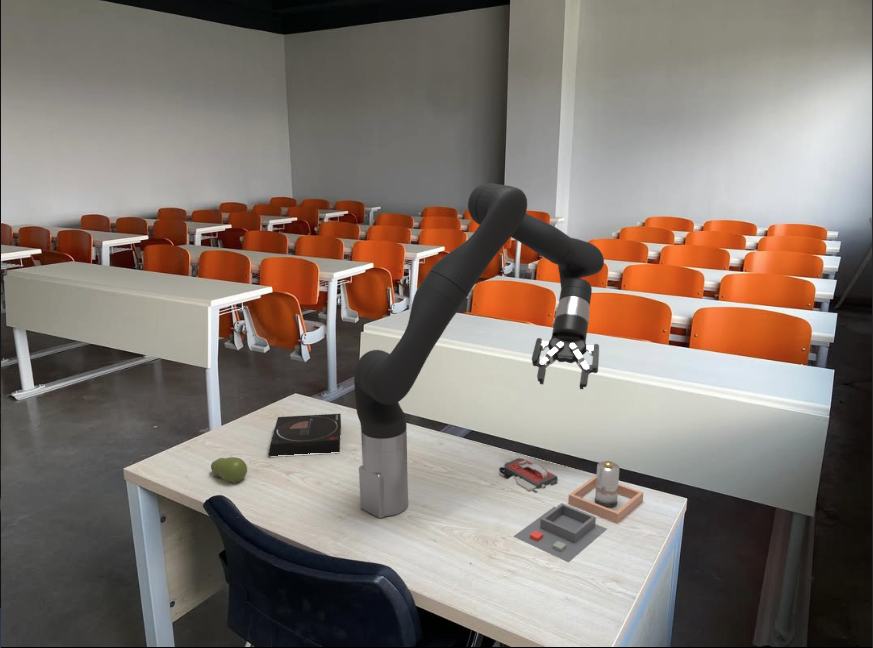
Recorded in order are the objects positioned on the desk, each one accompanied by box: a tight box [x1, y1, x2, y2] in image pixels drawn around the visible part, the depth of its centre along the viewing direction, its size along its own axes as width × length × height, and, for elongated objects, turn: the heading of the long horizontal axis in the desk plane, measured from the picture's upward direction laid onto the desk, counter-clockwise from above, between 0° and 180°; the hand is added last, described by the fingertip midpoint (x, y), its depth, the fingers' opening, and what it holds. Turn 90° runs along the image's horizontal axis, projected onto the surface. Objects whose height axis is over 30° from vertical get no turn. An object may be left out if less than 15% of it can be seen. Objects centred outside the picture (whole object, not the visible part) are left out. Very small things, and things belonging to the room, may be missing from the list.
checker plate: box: [512, 503, 608, 563], centre depth 126 cm, size 14×12×4 cm
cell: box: [594, 460, 620, 509], centre depth 135 cm, size 4×4×10 cm
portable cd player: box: [268, 413, 342, 457], centre depth 169 cm, size 16×17×4 cm
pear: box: [210, 456, 248, 483], centre depth 151 cm, size 6×5×10 cm
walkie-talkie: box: [498, 457, 559, 494], centre depth 145 cm, size 9×4×20 cm
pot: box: [567, 474, 644, 524], centre depth 136 cm, size 11×11×4 cm
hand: (561, 385), depth 142 cm, fingers open, 8 cm apart
